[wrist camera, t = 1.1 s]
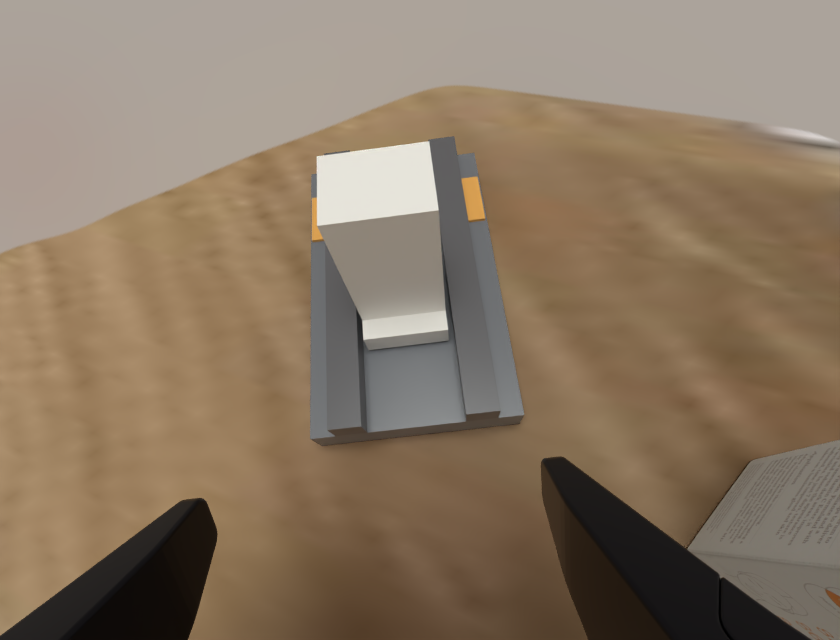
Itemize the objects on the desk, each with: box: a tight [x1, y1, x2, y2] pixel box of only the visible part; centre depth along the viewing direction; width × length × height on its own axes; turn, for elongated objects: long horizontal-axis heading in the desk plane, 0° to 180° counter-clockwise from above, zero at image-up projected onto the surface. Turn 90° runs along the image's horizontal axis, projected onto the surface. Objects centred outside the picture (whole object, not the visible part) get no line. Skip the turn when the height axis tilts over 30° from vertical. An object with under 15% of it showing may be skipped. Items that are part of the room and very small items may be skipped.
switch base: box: [310, 136, 524, 446], centre depth 25 cm, size 16×10×4 cm, turn 5°
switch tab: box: [317, 141, 449, 350], centre depth 19 cm, size 5×4×9 cm
